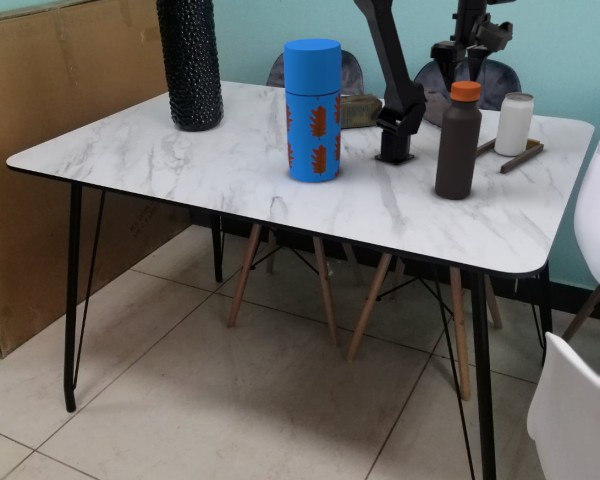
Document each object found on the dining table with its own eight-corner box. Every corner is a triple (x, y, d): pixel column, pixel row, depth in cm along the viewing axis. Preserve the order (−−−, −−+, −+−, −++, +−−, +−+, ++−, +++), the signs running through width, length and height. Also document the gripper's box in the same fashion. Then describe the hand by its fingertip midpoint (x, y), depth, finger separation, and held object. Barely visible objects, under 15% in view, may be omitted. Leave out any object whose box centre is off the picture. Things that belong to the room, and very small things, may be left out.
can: (518, 159, 122) (529, 102, 115) (489, 153, 125) (498, 97, 119) (529, 150, 126) (540, 94, 119) (500, 144, 130) (510, 90, 123)
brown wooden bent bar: (504, 173, 116) (506, 164, 115) (461, 161, 122) (462, 152, 121) (542, 150, 126) (544, 141, 125) (501, 140, 132) (502, 132, 130)
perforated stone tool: (458, 130, 138) (462, 101, 134) (438, 133, 137) (441, 103, 133) (431, 112, 150) (434, 85, 146) (413, 115, 149) (415, 87, 145)
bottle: (477, 191, 109) (494, 83, 98) (458, 203, 106) (473, 92, 94) (446, 182, 113) (459, 77, 102) (427, 193, 110) (438, 85, 98)
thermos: (347, 166, 122) (350, 40, 107) (328, 185, 114) (328, 52, 99) (301, 160, 126) (297, 37, 111) (279, 178, 118) (272, 48, 103)
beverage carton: (382, 125, 143) (384, 98, 139) (308, 133, 140) (307, 106, 136) (373, 116, 149) (374, 90, 145) (301, 123, 146) (300, 97, 142)
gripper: (484, 18, 105) (471, 104, 114) (531, 4, 115) (517, 84, 124) (432, 12, 111) (425, 94, 120) (482, 0, 122) (472, 76, 131)
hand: (461, 87), depth 124 cm, fingers open, 9 cm apart
